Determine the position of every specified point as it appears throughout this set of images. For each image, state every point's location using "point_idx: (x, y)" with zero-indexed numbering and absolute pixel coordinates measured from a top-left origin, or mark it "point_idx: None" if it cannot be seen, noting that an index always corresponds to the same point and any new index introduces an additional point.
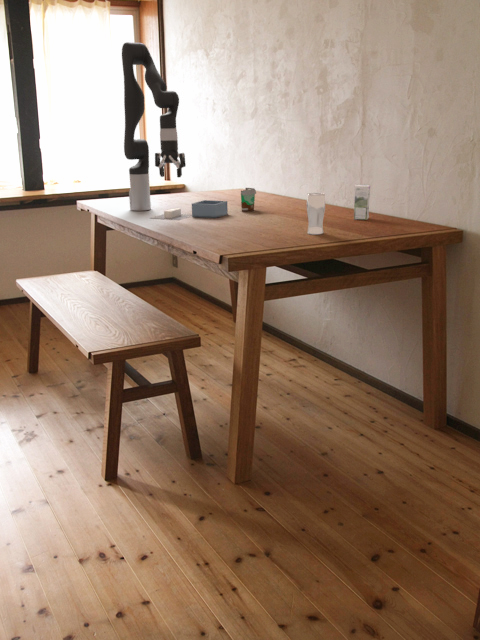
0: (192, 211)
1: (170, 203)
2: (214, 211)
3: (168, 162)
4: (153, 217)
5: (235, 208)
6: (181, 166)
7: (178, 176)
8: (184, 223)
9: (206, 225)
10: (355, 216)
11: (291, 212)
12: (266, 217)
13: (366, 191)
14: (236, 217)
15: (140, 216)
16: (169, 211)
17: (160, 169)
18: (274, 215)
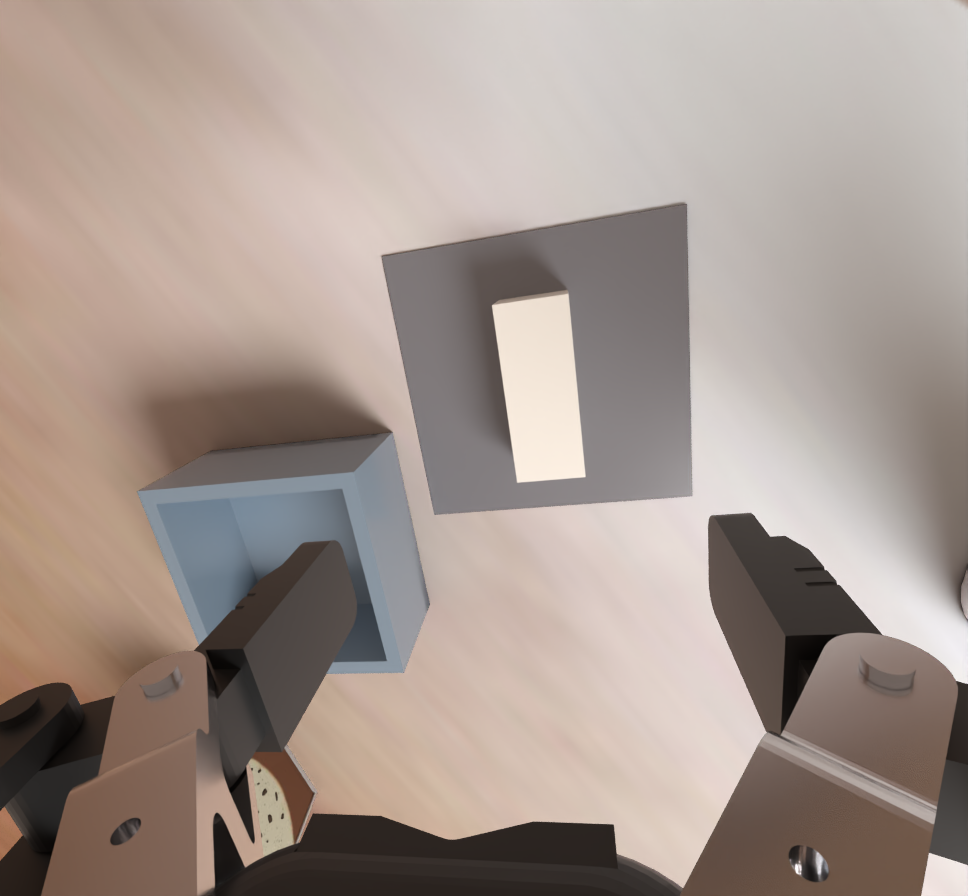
0: (374, 447)
1: (940, 869)
2: (186, 468)
3: (472, 846)
4: (676, 256)
5: (377, 792)
6: (46, 699)
7: (303, 544)
8: (227, 134)
9: (29, 147)
10: None
11: None
12: (10, 588)
13: None
14: (135, 530)
15: (853, 258)
16: (505, 302)
17: (815, 611)
18: (32, 656)
